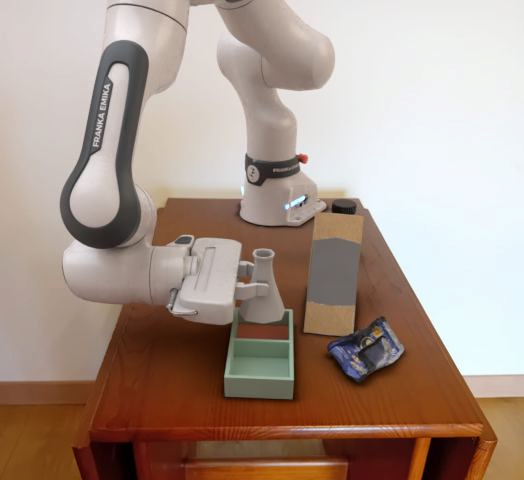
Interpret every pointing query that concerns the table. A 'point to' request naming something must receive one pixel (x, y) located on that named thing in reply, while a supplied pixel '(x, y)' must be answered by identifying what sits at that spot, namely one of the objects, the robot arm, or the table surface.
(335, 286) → the sandwich container
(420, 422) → the table surface
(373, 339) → the snack package
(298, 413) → the table surface
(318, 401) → the table surface
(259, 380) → the two-compartment tray
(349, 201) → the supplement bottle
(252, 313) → the flask
